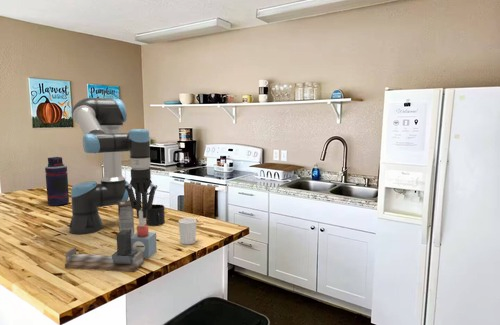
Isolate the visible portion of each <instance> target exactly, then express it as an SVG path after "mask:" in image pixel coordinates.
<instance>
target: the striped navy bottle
mask: <svg viewBox="0 0 500 325" xmlns="http://www.w3.org/2000/svg"><path fill="white" fill-rule="evenodd" d="M44 170H45V171H44V172H45V184H46V200H47V204H48V206H54V207H59V205H60V206H61V205H64V204H66V205H68V204H69V202H70V195H69V193H70V192H69V182H68V181H69V180H68V179H69V178H68V166H66V165H65V164H64V162H63V157H61V156H53V157H47V166H46V167H45V168H44Z"/></svg>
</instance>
